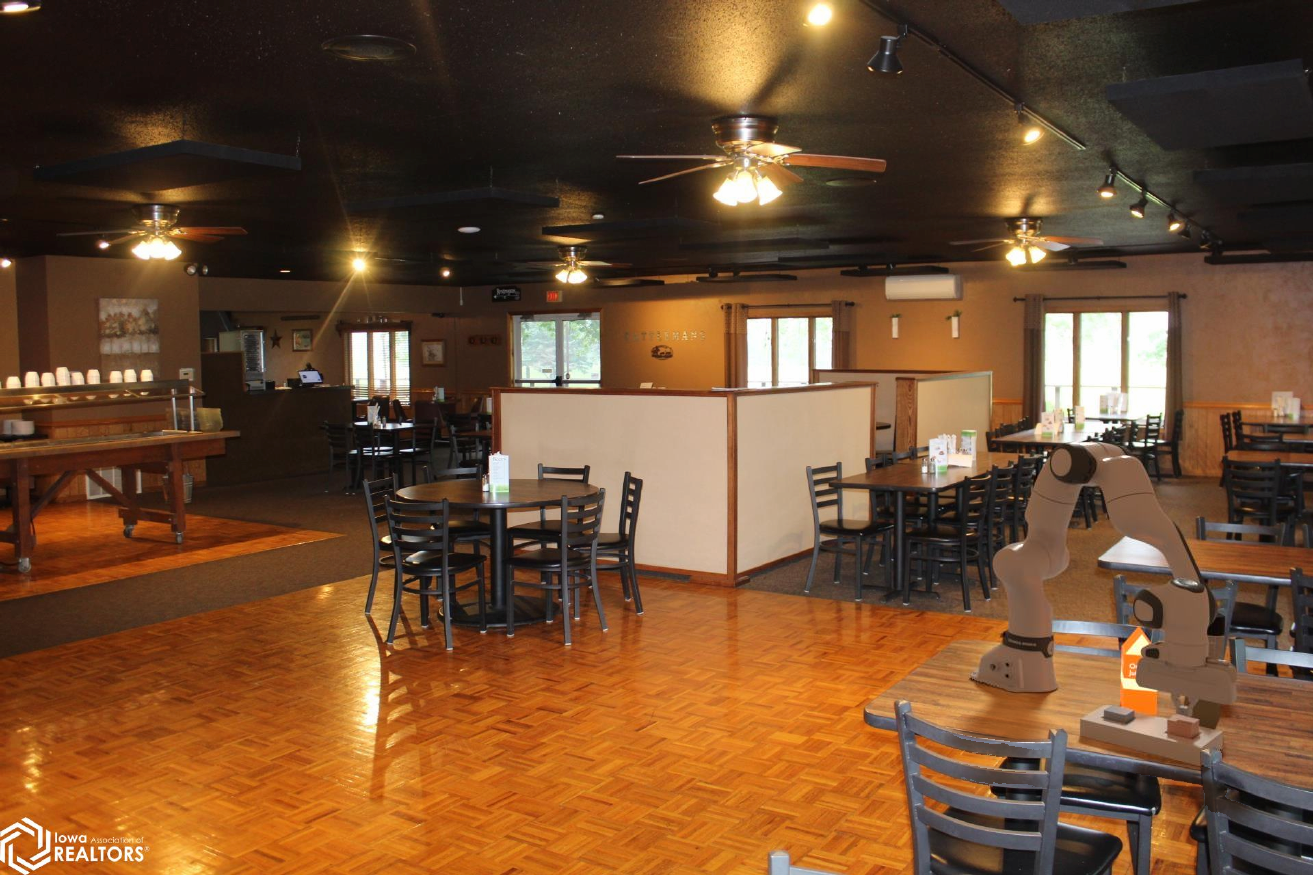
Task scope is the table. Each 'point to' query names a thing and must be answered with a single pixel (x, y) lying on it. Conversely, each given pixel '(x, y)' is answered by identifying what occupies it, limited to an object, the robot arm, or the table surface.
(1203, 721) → the squeeze bottle
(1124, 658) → the orange juice
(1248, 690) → the table surface
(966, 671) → the table surface
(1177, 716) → the terracotta key
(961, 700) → the table surface
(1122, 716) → the slate key
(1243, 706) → the table surface
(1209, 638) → the spray can
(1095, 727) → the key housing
